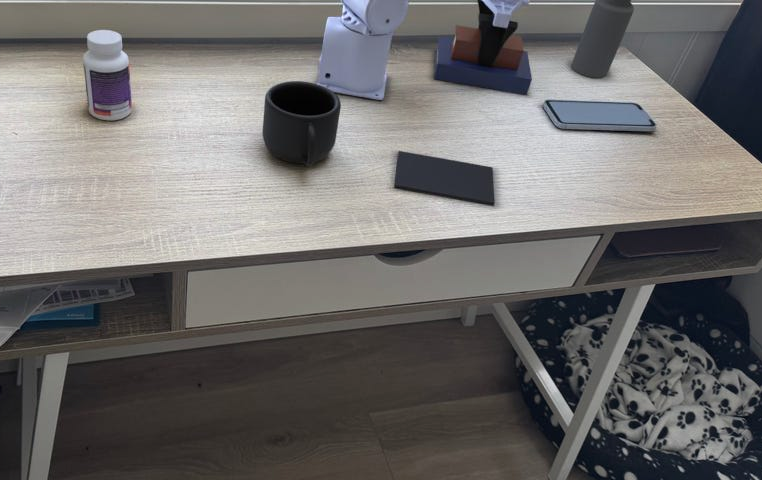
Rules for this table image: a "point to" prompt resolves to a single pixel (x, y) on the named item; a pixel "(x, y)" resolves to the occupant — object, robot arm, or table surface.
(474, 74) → the hardcover book
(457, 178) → the rubber mat
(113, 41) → the pill bottle
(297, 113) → the mug
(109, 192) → the table surface
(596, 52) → the bottle
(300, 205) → the table surface
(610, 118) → the smartphone
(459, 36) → the block
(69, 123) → the table surface
